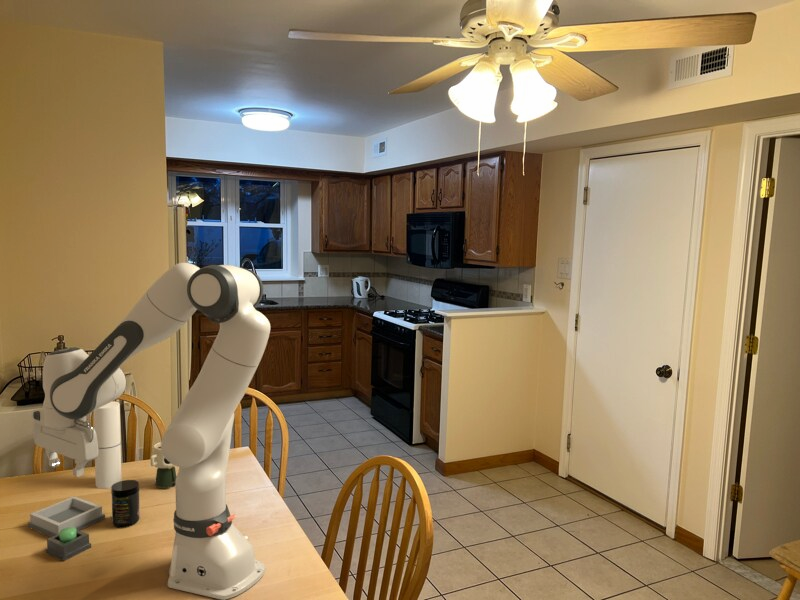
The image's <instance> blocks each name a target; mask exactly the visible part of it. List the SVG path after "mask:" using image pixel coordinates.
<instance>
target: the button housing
mask: <svg viewBox="0 0 800 600" xmlns="http://www.w3.org/2000/svg"><path fill="white" fill-rule="evenodd" d="M76 533H77V538H75V539H73V540H71V541H69V542H67V543H63V542H61V541H60V538H59V534H57V535H55V536H53V537H49V538H47V539H46V546H47V547H46V548H45V551H44V552H45V554H47V555H49V556H52V557H53V558H55V559H58V560H60V561H62V562H65V561H67V560H69V559H71V558H73V557H75V556H77V555H79V554H81V553H83V552H85V551H86V550H89V549H91V548H92V543H91V542H90V534H89V533H86V532H84V531H83V530H77V529H76Z"/></svg>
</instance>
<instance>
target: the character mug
mask: <svg viewBox="0 0 800 600" xmlns="http://www.w3.org/2000/svg"><path fill="white" fill-rule="evenodd" d="M152 452H153V454H152V455H151V456H150V466H151V467H154V468H157V469H156V474H155V475H156V476H155V484H154V485H155V486H156V487H159V488H160V489H166V488H167V489H168V488H172V487H173V483H174V486H176V476H177V472H176V466H175V465H173V464H171V463H170V462H169V461H168V460H167V459H166V458H165V457H164V455H163V453H162V450H161V441H159V442H157V443H155V444H154V445H153V450H152Z"/></svg>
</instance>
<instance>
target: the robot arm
mask: <svg viewBox="0 0 800 600" xmlns="http://www.w3.org/2000/svg"><path fill="white" fill-rule="evenodd" d="M263 295H264V284H263V281H262V279H261V278H260V276H259V275H258V274H257V273H256V272H254V271H253V270H251V269H250V268H246V267H241V266H235V265H232V264H231V265H230V264H220V265H217V264H211V265H210V264H209V265H206V266H204V267H201V268H200V267H199V266H197V265H195V264H193V263H190V262H179V263H178V262H177V263H176V264H175V265H173V266H172V267H170V268H169V269H168V270H167V271H166V272H164V273H163V274H162V275H161V276H160V277H159V278H158V279H157V280H155V282H154V283H152V284H151V286H150V287H149V288H148V289H147V290H146V292H144V294H143V295H142V296H141V298H139V300H138V301H137V303H136V304H135V305H134V306H133V307H132V308H131V309H130V311H129V312H128V313H127V314H126V316H125V317H124V318H123V319H122V321H120V322H119V323H118V325H117V326H116V327H115V328H114V330H113V331H111V332H110V334H108V335H107V337H105V338H104V340H103V341H102V342H101V343H100V344H98V346H97V347H96V348H95V349H94V350H93V351H92V352H91V353H90V354H88V353H87V352H86V351H85V350H84V349H83V348H79V347H66V348H62V349H58V350H54V351H51V352H49V353H48V354H47V355H46V356H45V359H44V362H43V367H42V368H43V369H42V389H43V392H44V400H43V402H42V403H43V405H42V407H41V408H37V409H33V410H32V411H31V419H32V420H33V423H32V433H33V434H32V435H33V440H34V444H35V445H36V446H38V447H40V448H42V449H45V454H46V456H47V460H48V466H49V467H51V468H57V467H59V466H60V464H61V462H60V461H61V459H60V458H59V457H58V455H61V456H64V457H66V458H69V459H73V460H74V464H76V465H75V467H73V468H72V475H73V476H75V477H77V478H79V477H82V476H84V473H85V472H84V469H85V466H86V464H87V463H88V462H91V461H95V459H96V458H97V456H98V442H97V435H96V431H95V430H94V427H92V425H91V423H90V422H89V421H87V415H90V413H92V412H94V410H96V409H98V408H100V407H102V406H104V405H106V404H108V403H110V402H112V401H113V402H115V400H117V399H119V398H120V397H121V396H123V395H124V393H125V391H126V389H127V377H126V375H125V372H124V371H123V369H122V368H121V367H122V365H124V363H126V362H127V361H128V360H129V359H131V358H132V357H133V356H135V355H137V354H138V353H140V352H142V351H144V350H146V349H148V348H151V347H153V346H156V345H158V344H159V343H162V342H164V341H166V340H168V339H169V338H170V337H172V336H173V335H174V334H175V333H177V332H178V331H179V330H180V329H181V328H182V327H184V326H185V324H186V323H187V322H188V321H189V320H190V318H191V317H192V316H193V315H194V314H195V313H196V311H199V312H200V313H202V314H203V315H204V316H205V317H206V318H207V319H208V320H209V321H210V322H211V323H213V324H219V331H218V333H217V335H216V338H215V339H214V342H213V343H212V345H211V348H210V350H209V352H208V354H207V356H206V358H205V360H204V362H203V365H202V366H201V370H200V372H199V373H198V375H197V378H196V379H195V381H194V382H193V384H192V385H191V387H190V388H189V389H188V392H187V394H186V395H185V397H184V398H183V400H182V402H181V403H180V405H179V407H178V409H177V410H176V412H175V414H174V416H173V417H172V419H171V421H170V423H169V425H168V427H167V428H166V430H165V432H164V433H163V435H162V438H161V441H160V442H161V450H162V453H163V455H164V457H165V458H166V459H167V460H168V461H169V462H170V463H171V464H173V465H175V466H174V467H177V468H178V471H177V472H176V485H175V510H174V513H173V521H172V522H173V529H174V532H175V533H174V534H175V536H174V540H173V545H172V546H173V547H172V555H171V562H170V565H169V568H168V574H169V577H168V579H167V587H168V588H170V589H174V590H177V591H183V592H186V593H191V594H195V595H201V596H204V597H209V598H214V599H217V600H229V599H232V598H234V597H236V596H239V595H241V594H243V593H244V592H246V591H247V590H249V589H251V587H253V586H254V585H255V584H256V583H257V582H258V581H260V579H262V577H263V576H264V575H265V573H266V565H265V564H264V563H263V562H261V560H258V559H257V558H256V555H255V549H254V546H253V545H252V543H251V542H250V541H249V537H248V535H245V534H244V535H243V534H242V533H241V531H240V530H239V529H238V528H237V527H236V526H235V525H234V524H233V520H234V519H236V517H235V516H236V514H235V513H233V514H231V513H230V510H229V507H228V504H227V470H228V462H229V457H230V450H231V441H232V432H233V431H232V430H233V426H234V421H235V416H236V415H235V411H236V410H237V408H238V406H239V404H240V402H241V401H242V399H243V398H244V396H245V394H246V392H247V390H248V388H249V385H250V384H251V382H252V380H253V378H254V375H255V373H256V371H257V369H258V366H259V365H260V362H261V360H262V359H263V355H264V353H265V350H266V347H267V345H268V342H269V341H268V340H269V339H270V338H269V337H270V333H271V323H270V320H269V319H268V318H267V317H266V315H264V314H263V313H262V312H260V311H259V310H257V309H256V306H257V305H258V304H259V303H260V302H261V300H262V298H263Z"/></svg>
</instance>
